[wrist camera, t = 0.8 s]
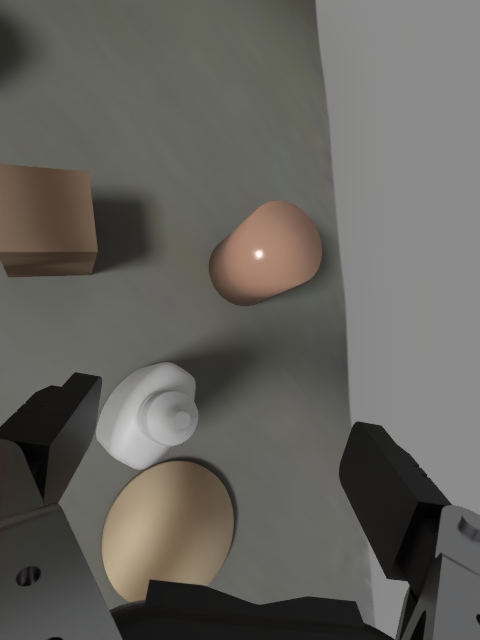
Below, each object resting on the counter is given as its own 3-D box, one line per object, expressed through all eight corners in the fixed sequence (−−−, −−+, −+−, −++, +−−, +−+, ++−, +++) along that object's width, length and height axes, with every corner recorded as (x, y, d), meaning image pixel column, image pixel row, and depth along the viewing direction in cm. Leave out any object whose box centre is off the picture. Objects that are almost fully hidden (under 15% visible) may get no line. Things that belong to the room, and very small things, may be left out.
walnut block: (8, 277, 24) (-3, 252, 20) (2, 204, 25) (-11, 163, 20) (91, 275, 26) (97, 251, 22) (83, 207, 27) (88, 171, 22)
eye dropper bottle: (76, 401, 24) (90, 409, 14) (152, 361, 27) (213, 341, 16) (107, 459, 25) (146, 511, 14) (180, 413, 27) (258, 428, 17)
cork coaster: (84, 607, 23) (85, 613, 22) (120, 453, 25) (122, 454, 24) (218, 601, 26) (222, 606, 26) (239, 466, 28) (242, 468, 28)
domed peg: (202, 294, 30) (241, 269, 23) (215, 227, 31) (255, 187, 25) (267, 314, 32) (317, 295, 26) (276, 251, 34) (326, 219, 27)
